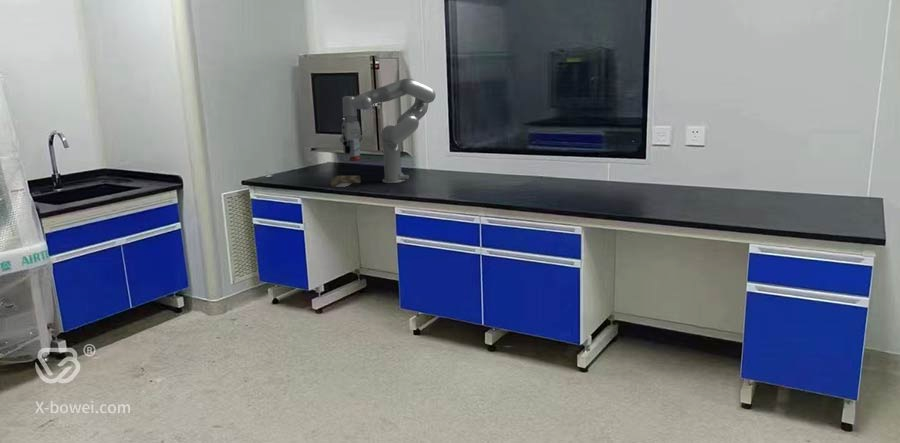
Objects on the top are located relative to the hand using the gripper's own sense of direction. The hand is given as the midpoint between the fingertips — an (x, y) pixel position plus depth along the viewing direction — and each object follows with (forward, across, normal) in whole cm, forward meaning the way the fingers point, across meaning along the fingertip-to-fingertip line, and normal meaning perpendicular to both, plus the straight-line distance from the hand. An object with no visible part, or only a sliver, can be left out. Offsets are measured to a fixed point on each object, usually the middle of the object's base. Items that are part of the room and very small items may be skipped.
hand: (351, 152), depth 367 cm
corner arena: (+19, 0, +7) cm, 20 cm away
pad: (+19, -2, +7) cm, 20 cm away
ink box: (+5, 0, 0) cm, 5 cm away
